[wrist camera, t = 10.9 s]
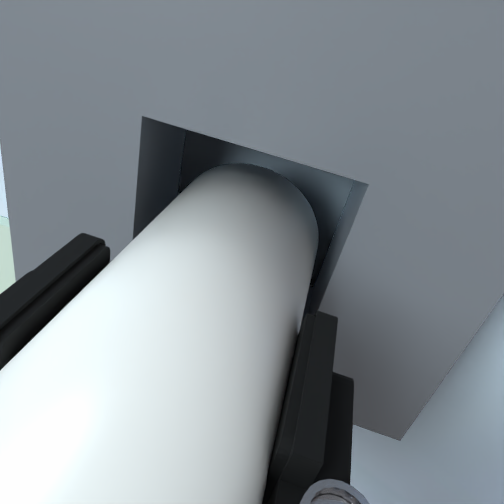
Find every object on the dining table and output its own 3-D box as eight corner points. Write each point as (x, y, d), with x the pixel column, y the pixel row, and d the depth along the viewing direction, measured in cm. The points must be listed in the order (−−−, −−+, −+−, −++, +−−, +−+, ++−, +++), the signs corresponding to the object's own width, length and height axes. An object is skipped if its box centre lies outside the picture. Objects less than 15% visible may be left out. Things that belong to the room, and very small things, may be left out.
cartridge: (339, 190, 14) (213, 949, 3) (294, 311, 16) (143, 929, 5) (187, 143, 14) (-462, 628, 3) (168, 269, 17) (-208, 761, 6)
